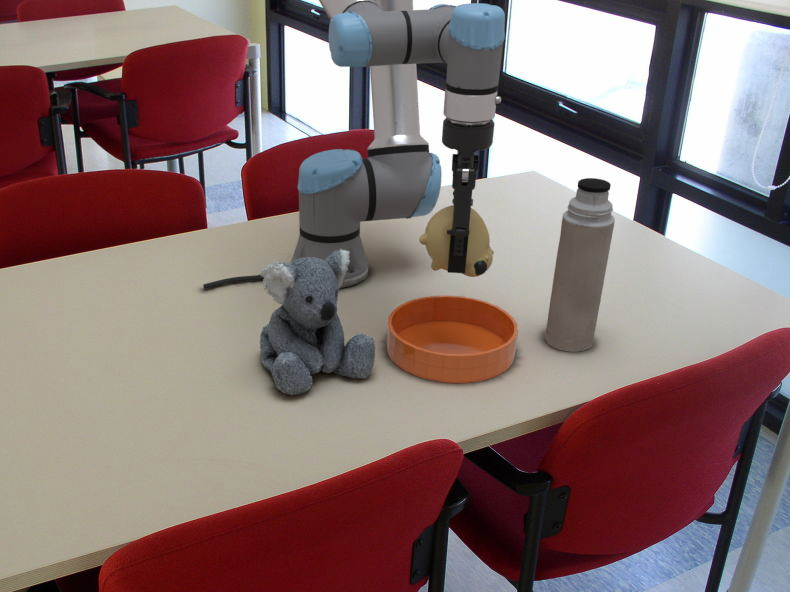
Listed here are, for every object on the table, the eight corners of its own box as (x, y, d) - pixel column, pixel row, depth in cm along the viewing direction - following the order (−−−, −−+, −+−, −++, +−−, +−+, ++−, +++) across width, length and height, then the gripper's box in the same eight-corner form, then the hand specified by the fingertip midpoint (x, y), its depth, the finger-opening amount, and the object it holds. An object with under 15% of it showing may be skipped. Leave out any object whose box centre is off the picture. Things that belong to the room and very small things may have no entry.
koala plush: (283, 404, 137) (280, 287, 127) (236, 352, 151) (230, 243, 141) (381, 377, 144) (385, 264, 134) (328, 330, 158) (329, 224, 148)
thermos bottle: (547, 326, 159) (570, 171, 144) (594, 333, 156) (622, 176, 142) (542, 347, 152) (565, 187, 138) (590, 355, 150) (619, 193, 135)
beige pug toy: (448, 301, 144) (502, 269, 137) (402, 242, 141) (455, 206, 135) (463, 274, 151) (515, 242, 145) (419, 218, 149) (470, 183, 142)
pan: (382, 378, 144) (383, 350, 141) (391, 317, 162) (392, 292, 159) (517, 387, 141) (521, 359, 139) (511, 324, 159) (514, 299, 157)
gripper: (496, 143, 123) (480, 290, 135) (493, 99, 142) (479, 232, 154) (441, 140, 124) (430, 287, 136) (445, 97, 143) (435, 229, 155)
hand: (456, 257), depth 145 cm, fingers closed on beige pug toy, 10 cm apart
